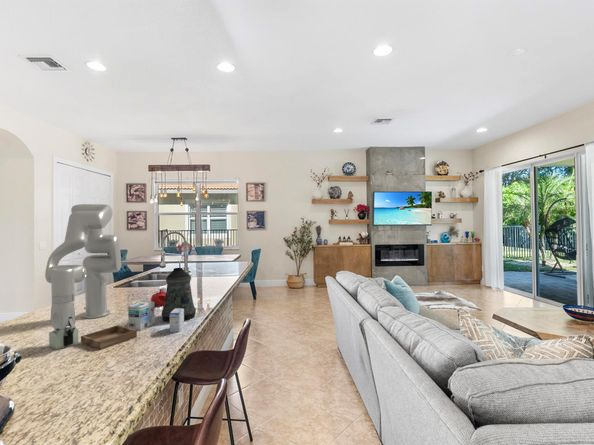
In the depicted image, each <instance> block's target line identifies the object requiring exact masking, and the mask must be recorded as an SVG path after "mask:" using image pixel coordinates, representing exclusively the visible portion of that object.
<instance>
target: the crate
mask: <svg viewBox="0 0 594 445" xmlns="http://www.w3.org/2000/svg"><path fill="white" fill-rule="evenodd" d="M137 337H138V330H134V329H130V328H129V327H126V326H122V325H118V324H117V325H114V326H110V327H107V328H104V329H100V330H97V331H94V332H90V333H87V334H83V335H80V344H81V345H84V346H86V347H87V346H88V347H90V348H93V349H95V350H99V351H100V350H101V351H102V350H104V349H107V348H110V347H113V346H115V345H119V344H122V343H124V342H127V341H130V340H132V339H136V338H137Z"/></svg>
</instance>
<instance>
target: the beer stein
mask: <svg viewBox="0 0 594 445" xmlns="http://www.w3.org/2000/svg"><path fill="white" fill-rule="evenodd" d="M191 280H192V276H191V275H190V274H189V273H188V272H186V271H185V270H184V268H182V267H174V268H173V270H172V271H170V273H169V274H168V275H167V276H166V278H165V282H166V291H165V292H166V296H165V303H164V305H163V308H162V310H161V316H162V317H161V318H162V320H163V321H164V322H167V323H170V313H171V312H172V311H173V310H174V309H176V308H182V309H184V322H186V321H190V319H191V320H193V319H194V318H195V316H196V312H197V310H196V309H197V308H196V307H195V304H194V300H193V295H192V288H191Z"/></svg>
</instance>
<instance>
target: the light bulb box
mask: <svg viewBox="0 0 594 445" xmlns="http://www.w3.org/2000/svg"><path fill="white" fill-rule="evenodd" d="M127 307H128V308H127V312H128V313H127V316H128V319H127V320H128V328H130V329H134V330H137V331H142V330H145V329H146V328H148V327H150V326H152V325H155V306H154V302H151V300H150V301H149V300H148V301H147V300H141V301H140V302H136V303H134V304H131V305H128V306H127Z"/></svg>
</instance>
